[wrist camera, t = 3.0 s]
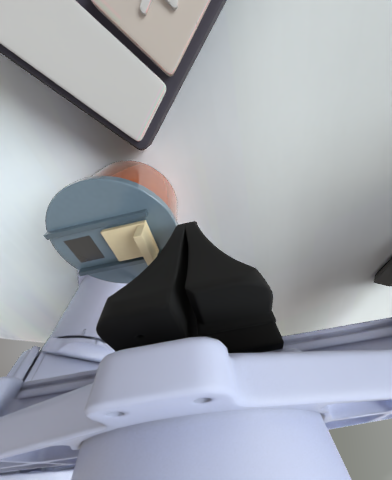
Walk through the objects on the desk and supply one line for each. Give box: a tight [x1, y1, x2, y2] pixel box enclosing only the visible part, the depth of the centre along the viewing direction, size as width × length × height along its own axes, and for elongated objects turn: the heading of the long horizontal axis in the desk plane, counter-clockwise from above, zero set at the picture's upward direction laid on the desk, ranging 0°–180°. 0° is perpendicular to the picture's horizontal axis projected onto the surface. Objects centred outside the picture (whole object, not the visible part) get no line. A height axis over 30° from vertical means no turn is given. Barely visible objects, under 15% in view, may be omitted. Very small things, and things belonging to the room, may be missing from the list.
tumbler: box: [44, 161, 178, 284], centre depth 16 cm, size 9×9×7 cm
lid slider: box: [101, 220, 159, 266], centre depth 12 cm, size 3×3×2 cm
